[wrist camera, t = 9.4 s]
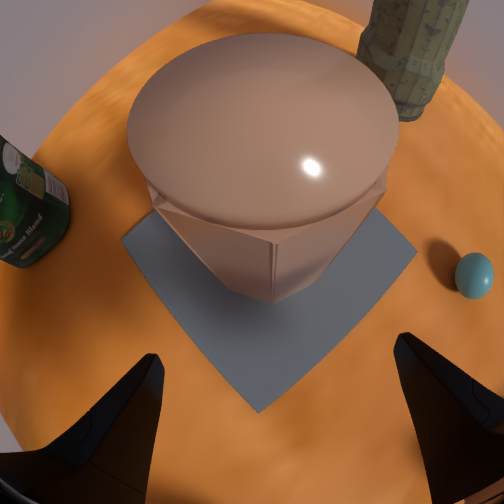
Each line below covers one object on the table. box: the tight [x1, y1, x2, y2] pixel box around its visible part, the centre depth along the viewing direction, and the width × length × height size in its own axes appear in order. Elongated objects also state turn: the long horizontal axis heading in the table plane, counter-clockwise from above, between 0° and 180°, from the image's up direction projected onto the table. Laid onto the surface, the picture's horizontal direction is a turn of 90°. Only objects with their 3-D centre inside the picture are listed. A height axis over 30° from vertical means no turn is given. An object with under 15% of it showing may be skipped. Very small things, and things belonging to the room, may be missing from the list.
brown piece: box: [127, 33, 399, 305], centre depth 12 cm, size 7×7×13 cm
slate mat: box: [121, 207, 418, 413], centre depth 19 cm, size 16×16×1 cm
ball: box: [455, 253, 494, 299], centre depth 15 cm, size 4×4×4 cm
